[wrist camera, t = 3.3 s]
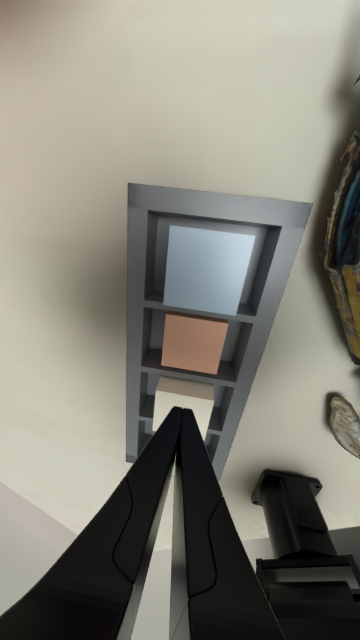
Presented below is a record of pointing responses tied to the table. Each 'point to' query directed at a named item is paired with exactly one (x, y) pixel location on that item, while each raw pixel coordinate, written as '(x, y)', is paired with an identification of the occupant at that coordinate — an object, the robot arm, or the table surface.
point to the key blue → (206, 269)
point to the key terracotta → (193, 341)
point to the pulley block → (346, 282)
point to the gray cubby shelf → (243, 329)
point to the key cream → (184, 400)
